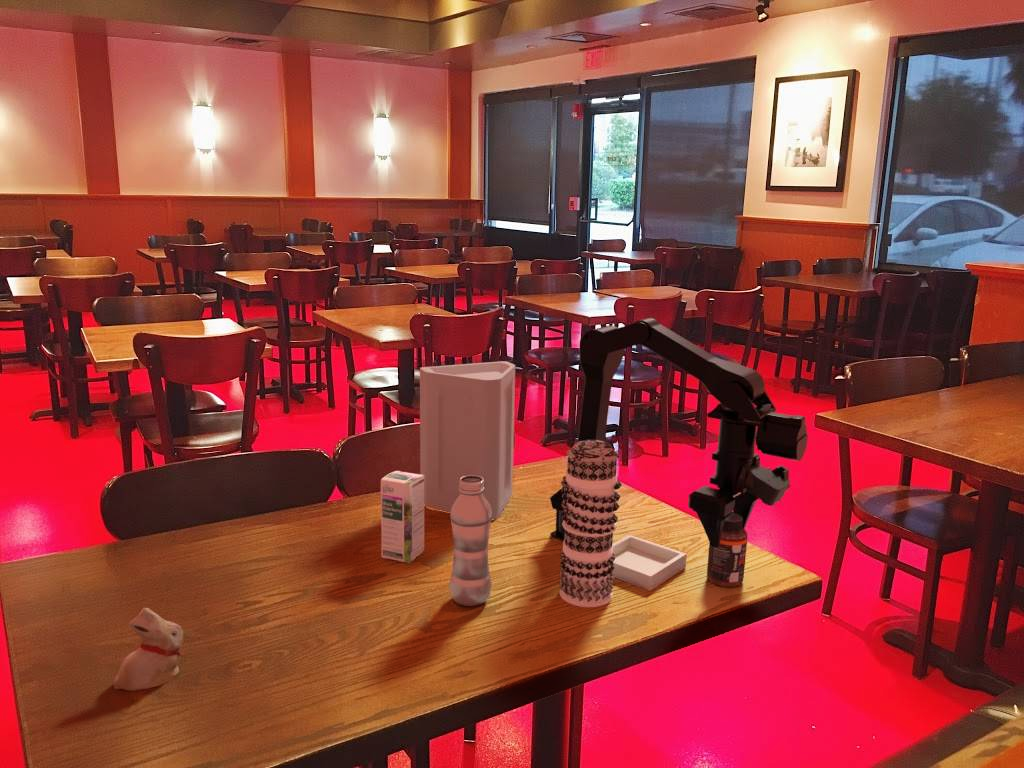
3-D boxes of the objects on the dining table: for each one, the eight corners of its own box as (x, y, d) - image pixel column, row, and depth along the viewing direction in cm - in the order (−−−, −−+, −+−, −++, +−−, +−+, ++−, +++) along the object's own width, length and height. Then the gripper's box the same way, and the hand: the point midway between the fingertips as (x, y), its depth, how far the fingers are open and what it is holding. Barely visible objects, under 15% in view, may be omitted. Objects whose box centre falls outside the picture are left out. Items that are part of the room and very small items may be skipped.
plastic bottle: (497, 594, 130) (499, 475, 125) (481, 614, 123) (483, 489, 119) (459, 587, 132) (460, 469, 127) (442, 607, 125) (442, 483, 121)
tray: (591, 568, 139) (591, 554, 139) (628, 547, 148) (629, 534, 147) (649, 590, 132) (650, 576, 132) (685, 567, 141) (686, 553, 140)
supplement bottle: (744, 590, 133) (750, 525, 130) (706, 586, 134) (712, 521, 131) (742, 574, 139) (747, 511, 136) (706, 570, 140) (711, 508, 137)
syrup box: (380, 558, 142) (378, 479, 138) (397, 545, 147) (396, 468, 144) (409, 564, 139) (408, 484, 136) (425, 551, 145) (425, 473, 141)
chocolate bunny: (175, 690, 103) (169, 618, 101) (110, 692, 103) (103, 619, 101) (188, 665, 109) (183, 597, 107) (127, 667, 108) (120, 598, 106)
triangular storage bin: (445, 527, 155) (445, 383, 148) (419, 501, 168) (418, 367, 161) (535, 513, 163) (539, 375, 157) (503, 488, 176) (506, 361, 170)
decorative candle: (582, 575, 137) (589, 431, 131) (626, 595, 130) (635, 445, 125) (545, 593, 131) (550, 443, 125) (589, 614, 124) (597, 457, 118)
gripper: (758, 473, 119) (749, 572, 123) (808, 446, 133) (798, 535, 136) (690, 456, 126) (682, 550, 130) (743, 432, 140) (735, 517, 143)
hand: (727, 538), depth 135 cm, fingers open, 9 cm apart
